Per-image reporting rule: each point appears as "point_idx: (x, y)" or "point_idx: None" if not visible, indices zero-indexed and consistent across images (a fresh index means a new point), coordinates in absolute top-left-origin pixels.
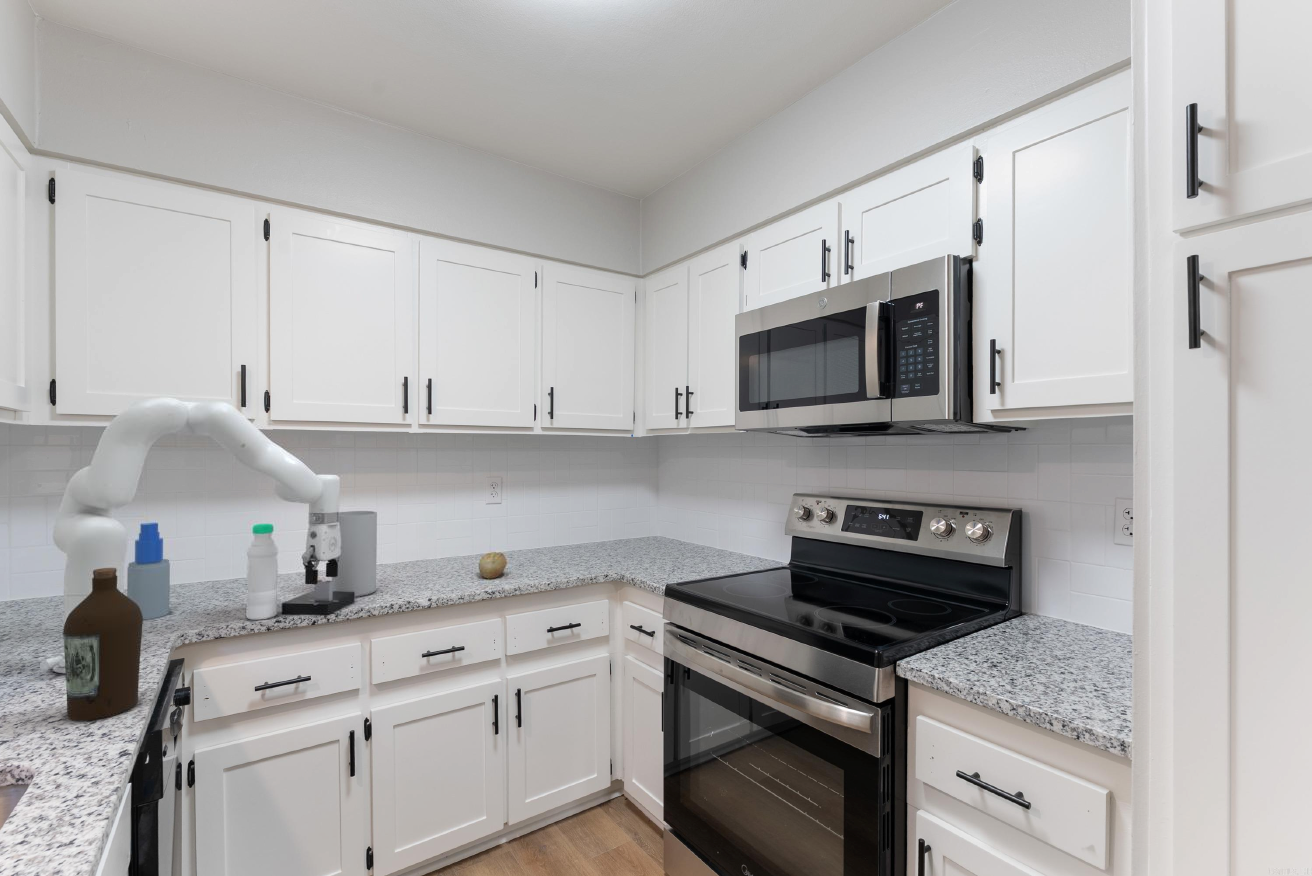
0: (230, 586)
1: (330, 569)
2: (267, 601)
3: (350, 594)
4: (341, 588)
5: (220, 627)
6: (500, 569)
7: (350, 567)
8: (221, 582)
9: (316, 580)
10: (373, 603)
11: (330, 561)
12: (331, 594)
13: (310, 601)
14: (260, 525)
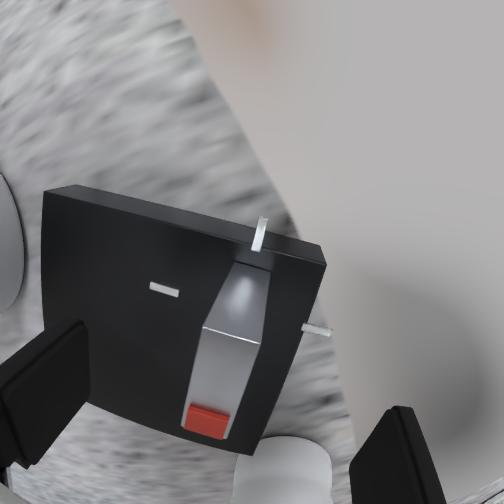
0: (28, 485)
1: (53, 403)
2: (325, 493)
3: (80, 198)
4: (2, 278)
5: None
6: None
7: None
8: (17, 488)
9: (417, 427)
10: (116, 76)
11: (7, 455)
12: (238, 279)
13: None
14: None
